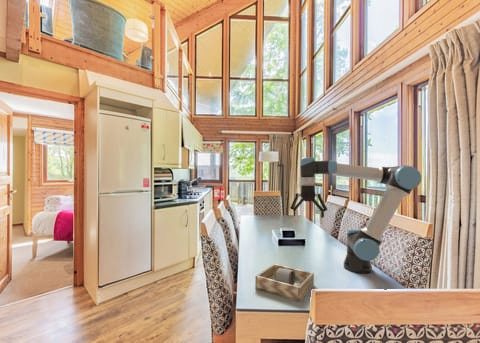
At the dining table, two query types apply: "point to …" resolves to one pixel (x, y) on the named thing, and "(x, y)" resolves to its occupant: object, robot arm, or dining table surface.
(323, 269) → the dining table surface
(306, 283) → the walled box
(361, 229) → the robot arm
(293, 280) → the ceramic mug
